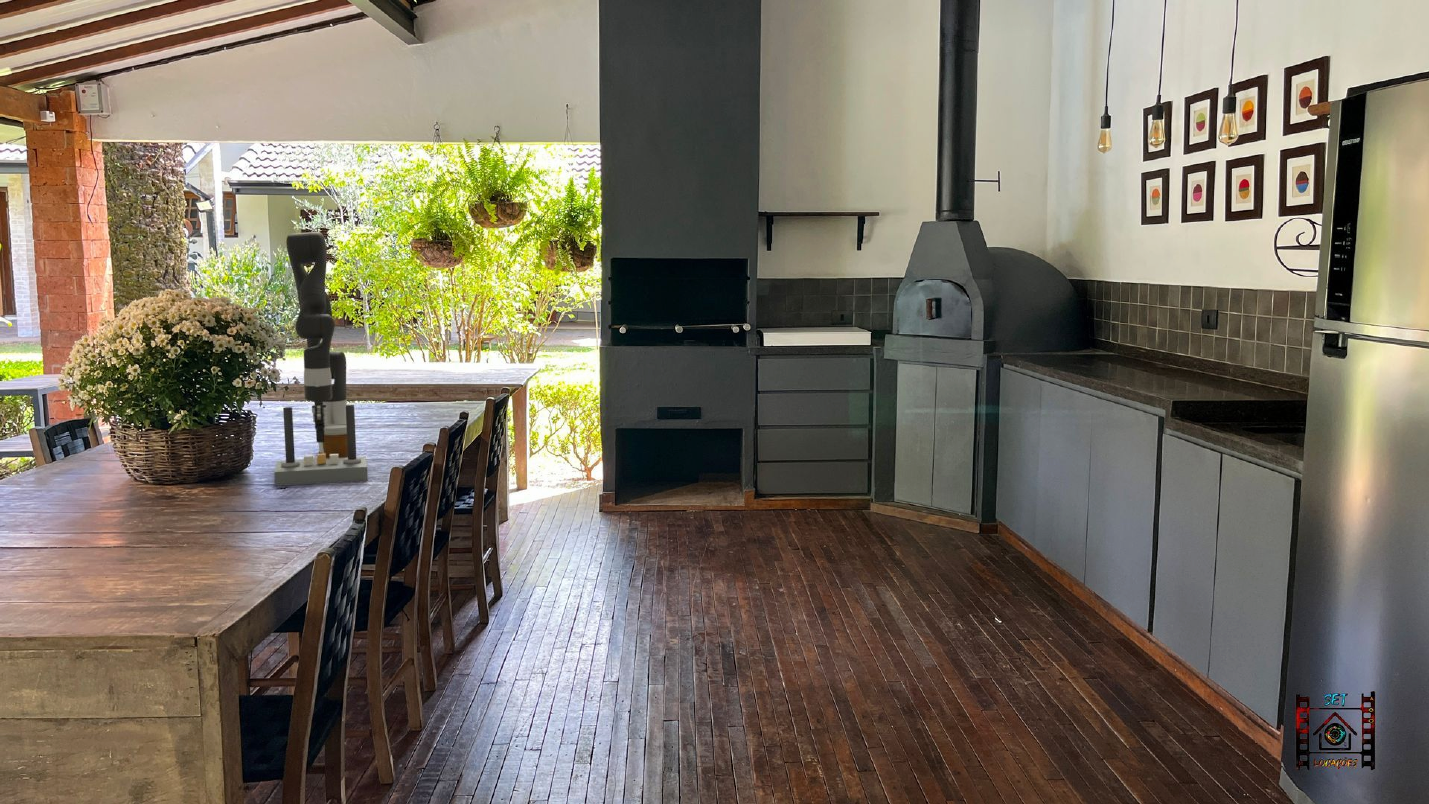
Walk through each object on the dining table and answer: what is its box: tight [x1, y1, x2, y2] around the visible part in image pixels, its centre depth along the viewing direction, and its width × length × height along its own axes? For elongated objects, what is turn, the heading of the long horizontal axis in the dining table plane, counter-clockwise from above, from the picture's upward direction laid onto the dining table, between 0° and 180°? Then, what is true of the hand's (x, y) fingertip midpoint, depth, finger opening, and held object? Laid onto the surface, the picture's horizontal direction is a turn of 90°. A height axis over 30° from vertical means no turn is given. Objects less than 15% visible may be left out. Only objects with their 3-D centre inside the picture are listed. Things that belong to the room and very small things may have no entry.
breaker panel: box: [273, 454, 368, 487], centre depth 316 cm, size 16×25×7 cm, turn 109°
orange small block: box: [316, 453, 326, 464], centre depth 315 cm, size 2×2×3 cm
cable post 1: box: [281, 406, 300, 467], centre depth 312 cm, size 5×5×17 cm
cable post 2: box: [343, 404, 361, 464], centre depth 317 cm, size 5×5×17 cm
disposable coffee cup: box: [322, 424, 348, 459], centre depth 334 cm, size 10×10×12 cm
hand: (320, 442), depth 315 cm, fingers closed
